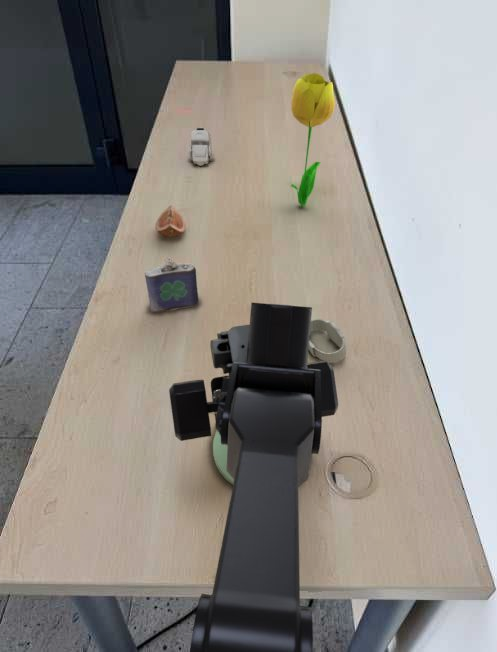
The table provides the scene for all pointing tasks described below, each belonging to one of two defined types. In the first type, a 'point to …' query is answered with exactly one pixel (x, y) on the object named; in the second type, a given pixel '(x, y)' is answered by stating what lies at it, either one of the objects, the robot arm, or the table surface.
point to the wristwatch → (335, 336)
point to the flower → (311, 119)
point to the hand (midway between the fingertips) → (244, 390)
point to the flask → (172, 286)
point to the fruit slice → (170, 223)
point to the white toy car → (200, 146)
